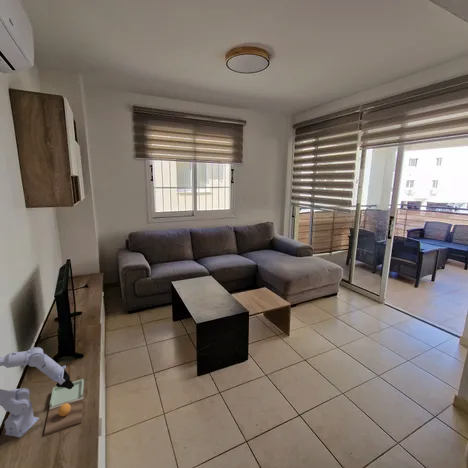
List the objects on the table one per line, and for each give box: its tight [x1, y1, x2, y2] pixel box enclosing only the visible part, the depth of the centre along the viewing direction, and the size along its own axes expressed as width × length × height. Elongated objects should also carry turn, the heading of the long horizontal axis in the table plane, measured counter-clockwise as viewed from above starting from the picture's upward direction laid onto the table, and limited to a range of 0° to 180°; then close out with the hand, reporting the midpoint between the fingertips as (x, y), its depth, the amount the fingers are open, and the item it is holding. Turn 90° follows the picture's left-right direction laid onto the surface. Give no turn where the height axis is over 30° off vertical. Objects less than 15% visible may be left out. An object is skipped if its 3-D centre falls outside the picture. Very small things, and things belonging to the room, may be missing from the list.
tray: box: [49, 378, 85, 408], centre depth 134 cm, size 12×14×2 cm
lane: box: [43, 388, 85, 437], centre depth 127 cm, size 27×14×1 cm, turn 27°
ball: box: [58, 403, 71, 416], centre depth 122 cm, size 5×5×5 cm
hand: (70, 383), depth 127 cm, fingers open, 7 cm apart
